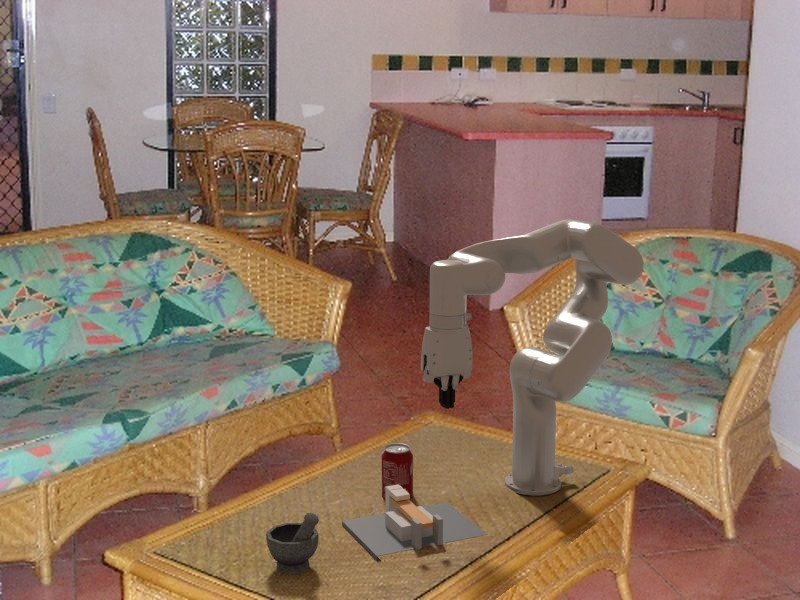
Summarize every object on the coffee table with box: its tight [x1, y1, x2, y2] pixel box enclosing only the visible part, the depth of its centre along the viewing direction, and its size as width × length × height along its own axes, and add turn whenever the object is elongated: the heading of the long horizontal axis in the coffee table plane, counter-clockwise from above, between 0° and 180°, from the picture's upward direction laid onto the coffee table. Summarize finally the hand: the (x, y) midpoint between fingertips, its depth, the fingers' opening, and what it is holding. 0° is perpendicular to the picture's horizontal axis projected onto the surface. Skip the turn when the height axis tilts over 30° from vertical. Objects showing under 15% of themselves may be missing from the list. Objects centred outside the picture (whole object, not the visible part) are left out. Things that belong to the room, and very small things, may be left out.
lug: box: [384, 484, 411, 512], centre depth 238 cm, size 3×6×6 cm, turn 24°
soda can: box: [381, 442, 414, 499], centre depth 249 cm, size 7×7×12 cm
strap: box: [390, 497, 434, 529], centre depth 231 cm, size 3×14×1 cm, turn 24°
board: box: [341, 501, 488, 563], centre depth 233 cm, size 24×18×6 cm
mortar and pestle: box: [265, 512, 320, 575], centre depth 217 cm, size 11×9×12 cm
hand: (446, 406), depth 240 cm, fingers closed
